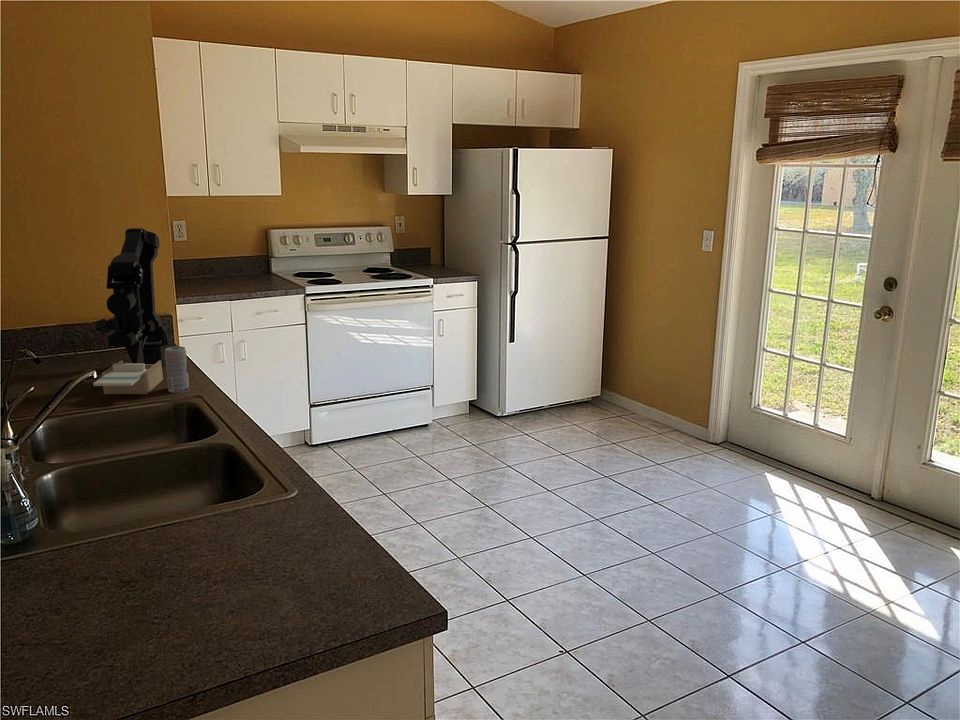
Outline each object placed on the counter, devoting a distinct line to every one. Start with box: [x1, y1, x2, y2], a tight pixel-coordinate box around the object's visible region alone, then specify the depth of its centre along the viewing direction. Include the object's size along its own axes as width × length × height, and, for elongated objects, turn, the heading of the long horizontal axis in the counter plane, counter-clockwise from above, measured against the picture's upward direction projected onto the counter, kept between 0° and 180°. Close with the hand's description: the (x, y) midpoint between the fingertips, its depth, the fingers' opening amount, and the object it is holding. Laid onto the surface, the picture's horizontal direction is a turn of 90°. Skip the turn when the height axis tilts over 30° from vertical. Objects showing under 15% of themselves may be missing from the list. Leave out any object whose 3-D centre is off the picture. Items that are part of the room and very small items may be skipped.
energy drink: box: [164, 346, 190, 394], centre depth 208 cm, size 5×5×12 cm
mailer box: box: [101, 359, 164, 395], centre depth 210 cm, size 13×11×6 cm
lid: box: [92, 362, 148, 387], centre depth 202 cm, size 13×9×2 cm
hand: (135, 363), depth 212 cm, fingers closed
